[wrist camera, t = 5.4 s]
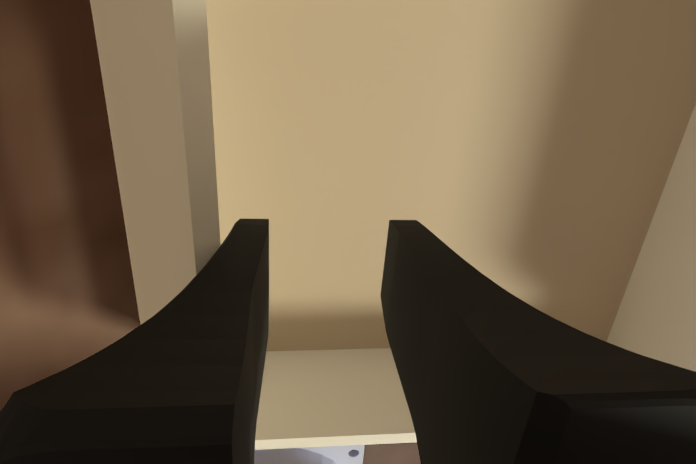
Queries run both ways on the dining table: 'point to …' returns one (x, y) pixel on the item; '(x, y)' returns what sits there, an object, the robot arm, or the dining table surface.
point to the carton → (453, 177)
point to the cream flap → (161, 139)
